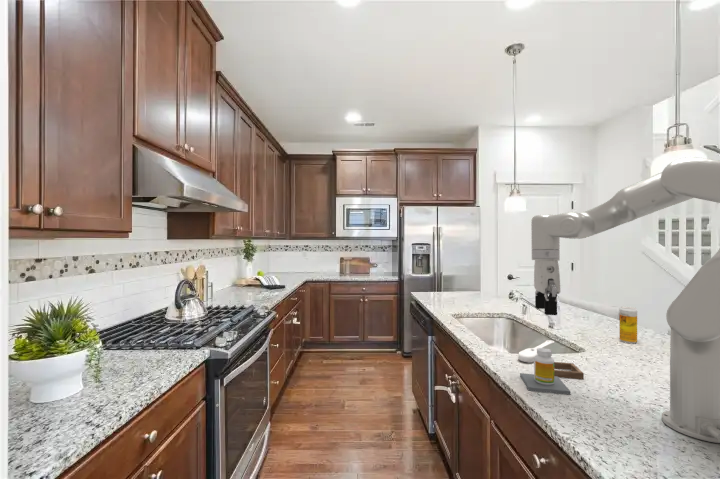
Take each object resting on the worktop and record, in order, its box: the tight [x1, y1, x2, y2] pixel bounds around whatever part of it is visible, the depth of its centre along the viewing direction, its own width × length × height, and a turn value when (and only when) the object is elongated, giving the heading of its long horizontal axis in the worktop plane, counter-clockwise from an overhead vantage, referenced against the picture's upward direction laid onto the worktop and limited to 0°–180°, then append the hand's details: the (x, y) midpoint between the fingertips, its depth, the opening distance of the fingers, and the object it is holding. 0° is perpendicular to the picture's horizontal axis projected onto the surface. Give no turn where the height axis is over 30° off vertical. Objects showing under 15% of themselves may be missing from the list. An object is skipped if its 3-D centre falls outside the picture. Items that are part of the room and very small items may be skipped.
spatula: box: [517, 339, 555, 364], centre depth 132 cm, size 28×6×3 cm, turn 132°
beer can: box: [619, 305, 638, 344], centre depth 149 cm, size 6×6×15 cm
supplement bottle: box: [533, 347, 555, 385], centre depth 104 cm, size 5×5×10 cm
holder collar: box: [554, 361, 585, 380], centre depth 113 cm, size 9×9×2 cm
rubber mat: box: [519, 372, 571, 396], centre depth 104 cm, size 11×11×1 cm
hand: (545, 311), depth 104 cm, fingers open, 9 cm apart
